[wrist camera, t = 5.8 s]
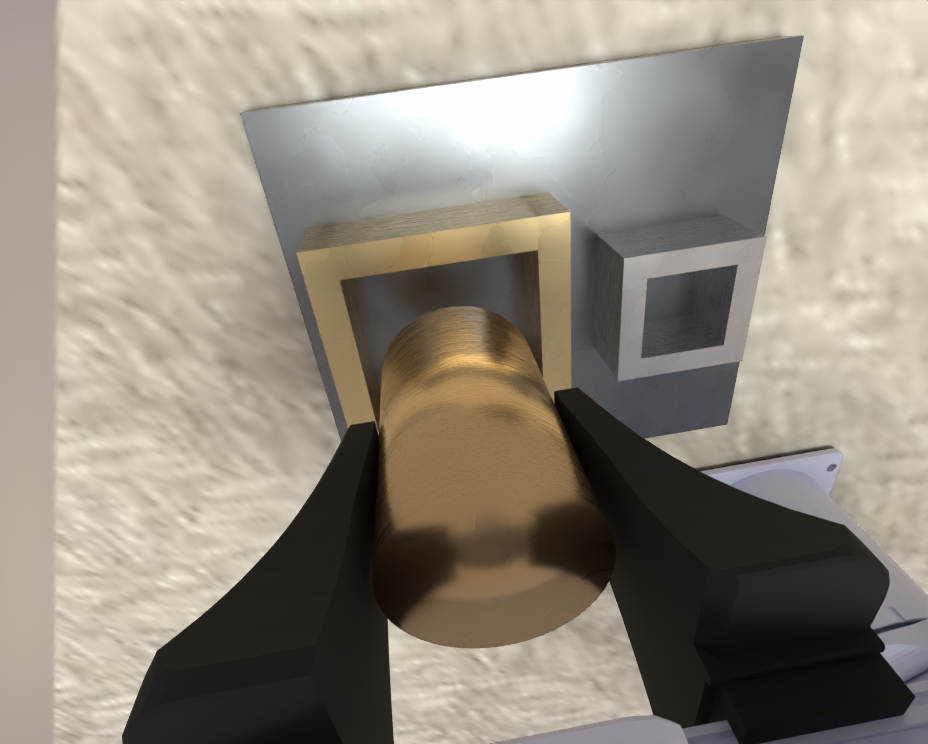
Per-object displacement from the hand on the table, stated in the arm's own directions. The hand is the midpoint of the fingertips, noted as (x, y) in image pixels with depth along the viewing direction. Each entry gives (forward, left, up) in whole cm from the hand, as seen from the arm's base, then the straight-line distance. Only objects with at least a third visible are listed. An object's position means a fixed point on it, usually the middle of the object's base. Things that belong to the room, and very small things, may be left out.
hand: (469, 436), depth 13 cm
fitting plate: (0, -4, -8) cm, 9 cm away
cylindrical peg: (0, 0, -3) cm, 3 cm away
